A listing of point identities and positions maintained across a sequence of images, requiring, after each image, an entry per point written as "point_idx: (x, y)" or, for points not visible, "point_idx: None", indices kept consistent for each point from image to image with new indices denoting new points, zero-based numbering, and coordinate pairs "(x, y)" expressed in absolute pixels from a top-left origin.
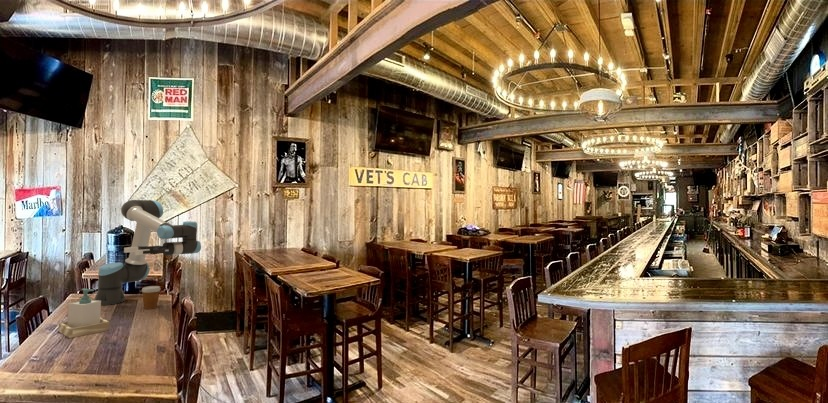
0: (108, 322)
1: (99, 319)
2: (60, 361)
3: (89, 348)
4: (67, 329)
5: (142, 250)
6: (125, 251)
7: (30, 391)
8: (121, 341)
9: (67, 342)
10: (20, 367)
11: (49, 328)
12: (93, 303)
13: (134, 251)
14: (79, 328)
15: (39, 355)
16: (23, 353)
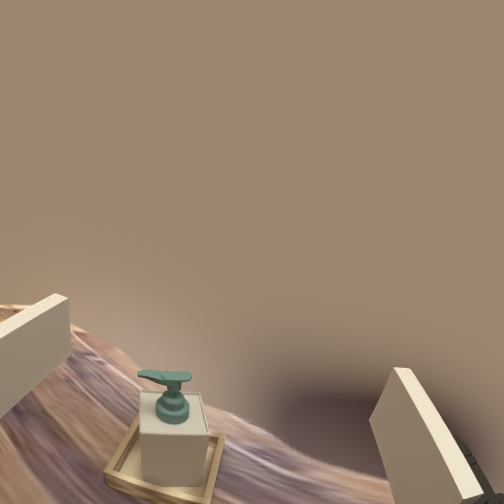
0: (104, 470)
1: (142, 470)
2: None
3: (44, 390)
4: None
5: (7, 329)
6: (376, 414)
7: (20, 306)
8: (10, 420)
9: (116, 409)
10: (83, 339)
11: (270, 452)
12: (139, 414)
13: (400, 501)
14: (131, 425)
15: (100, 365)
16: (134, 368)
